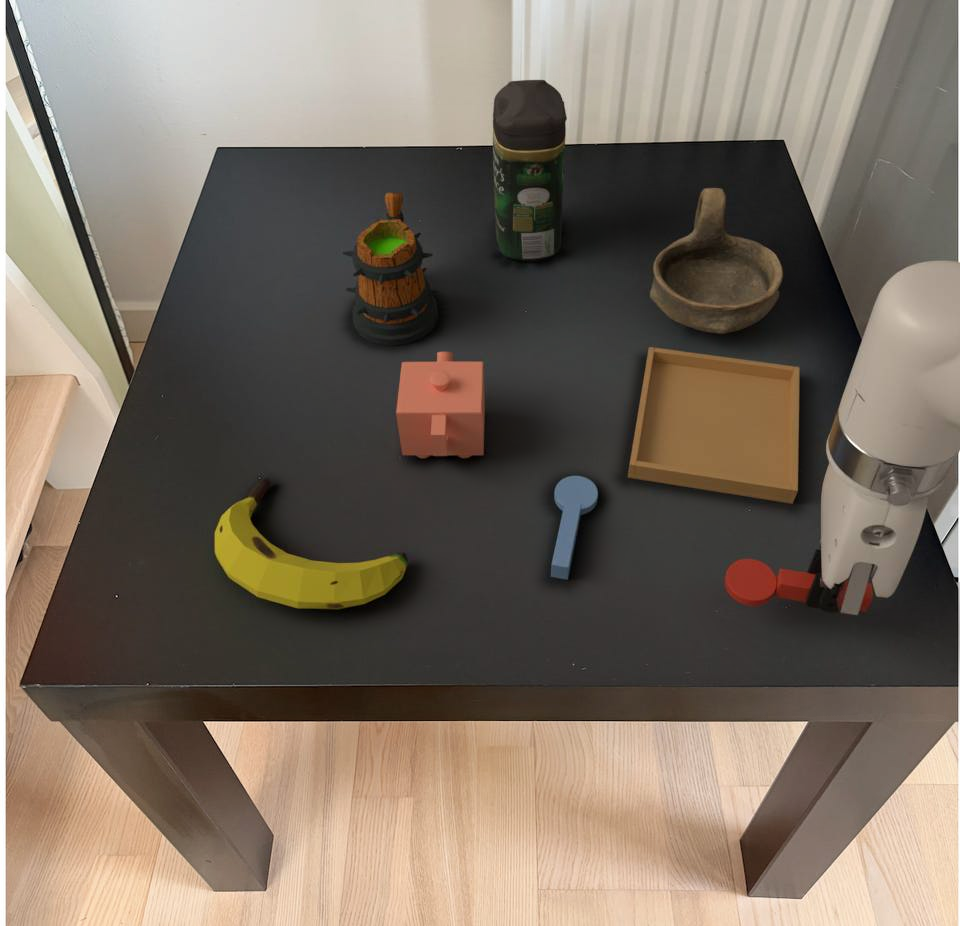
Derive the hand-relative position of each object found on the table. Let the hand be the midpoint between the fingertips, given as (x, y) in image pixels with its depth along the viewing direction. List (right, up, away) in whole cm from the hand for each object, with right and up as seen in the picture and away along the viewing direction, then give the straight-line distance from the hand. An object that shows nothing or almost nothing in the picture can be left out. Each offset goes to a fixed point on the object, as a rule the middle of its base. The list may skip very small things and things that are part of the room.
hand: (826, 594), depth 72 cm
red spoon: (-2, 0, +1) cm, 2 cm away
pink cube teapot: (-31, +13, +18) cm, 38 cm away
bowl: (-2, +29, +30) cm, 41 cm away
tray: (-4, +14, +17) cm, 23 cm away
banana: (-42, +3, +10) cm, 44 cm away
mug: (-37, +28, +30) cm, 55 cm away
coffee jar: (-22, +37, +37) cm, 57 cm away
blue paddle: (-19, +5, +10) cm, 22 cm away
